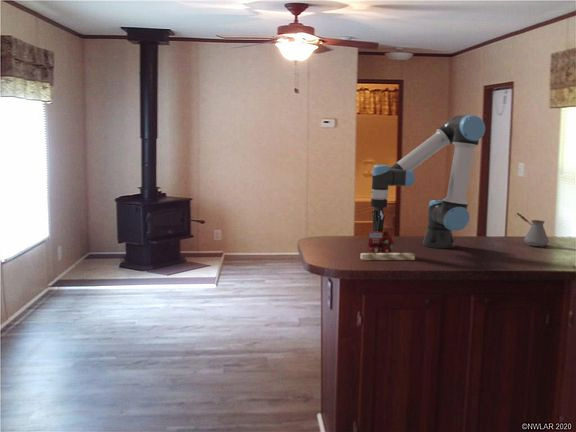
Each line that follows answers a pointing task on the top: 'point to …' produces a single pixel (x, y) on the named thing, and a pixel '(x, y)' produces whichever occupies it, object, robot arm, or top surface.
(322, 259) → the top surface
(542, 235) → the coffee pot
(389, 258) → the beige long bar
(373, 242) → the toy fire truck
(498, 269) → the top surface
